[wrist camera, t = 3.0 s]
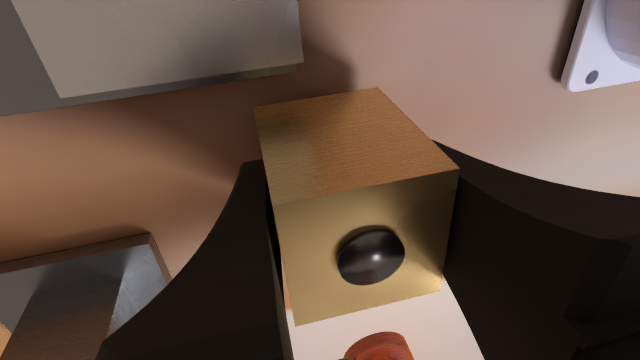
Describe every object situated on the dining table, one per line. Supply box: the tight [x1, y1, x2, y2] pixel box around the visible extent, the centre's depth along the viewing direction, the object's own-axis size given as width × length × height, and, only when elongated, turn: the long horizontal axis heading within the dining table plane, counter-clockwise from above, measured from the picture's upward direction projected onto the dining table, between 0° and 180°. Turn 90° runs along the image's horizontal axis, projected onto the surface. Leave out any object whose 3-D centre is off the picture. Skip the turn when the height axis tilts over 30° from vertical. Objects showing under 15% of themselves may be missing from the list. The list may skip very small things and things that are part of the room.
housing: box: [253, 87, 460, 326], centre depth 11 cm, size 4×4×5 cm
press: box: [0, 0, 304, 360], centre depth 10 cm, size 12×18×5 cm, turn 5°
